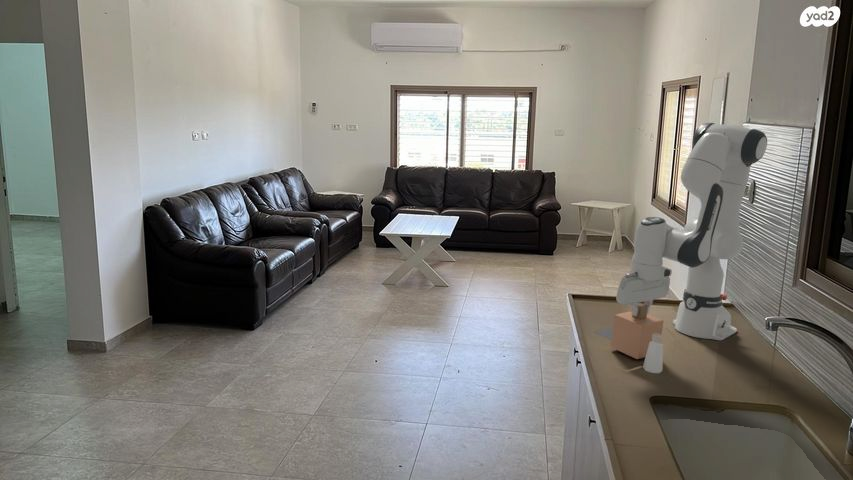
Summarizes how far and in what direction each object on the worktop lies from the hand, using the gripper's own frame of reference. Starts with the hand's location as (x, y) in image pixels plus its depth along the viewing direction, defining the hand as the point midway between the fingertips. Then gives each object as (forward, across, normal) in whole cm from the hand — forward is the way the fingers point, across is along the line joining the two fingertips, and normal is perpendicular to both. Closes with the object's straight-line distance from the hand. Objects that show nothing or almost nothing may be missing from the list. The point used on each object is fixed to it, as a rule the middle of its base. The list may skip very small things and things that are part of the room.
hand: (639, 314), depth 194 cm
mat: (+13, +8, +13) cm, 20 cm away
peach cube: (+12, 0, 0) cm, 12 cm away
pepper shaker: (+14, -4, -10) cm, 17 cm away
